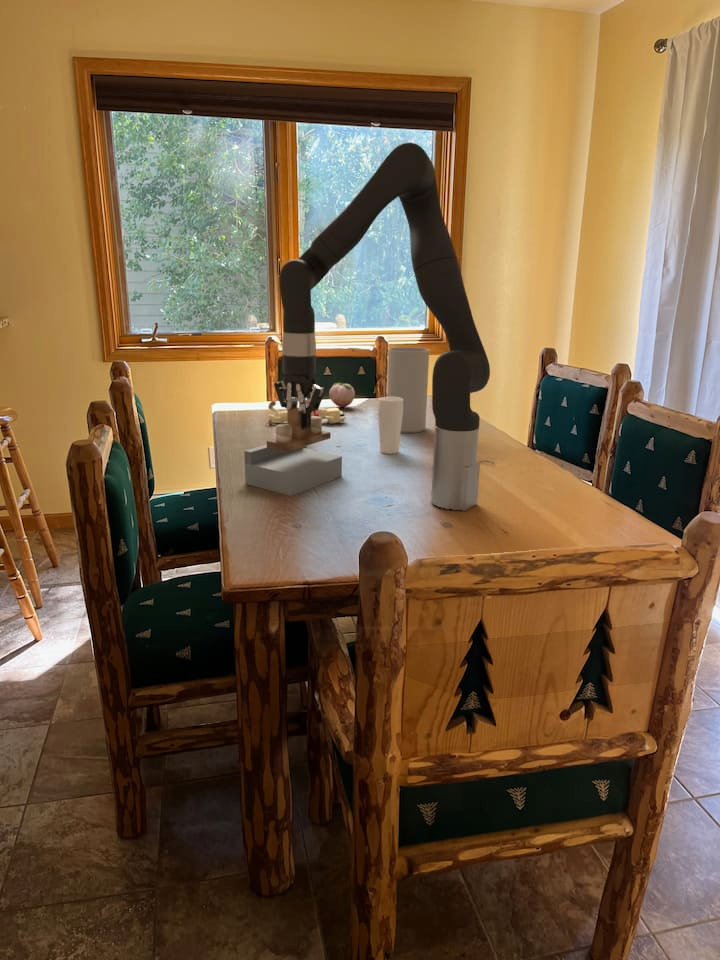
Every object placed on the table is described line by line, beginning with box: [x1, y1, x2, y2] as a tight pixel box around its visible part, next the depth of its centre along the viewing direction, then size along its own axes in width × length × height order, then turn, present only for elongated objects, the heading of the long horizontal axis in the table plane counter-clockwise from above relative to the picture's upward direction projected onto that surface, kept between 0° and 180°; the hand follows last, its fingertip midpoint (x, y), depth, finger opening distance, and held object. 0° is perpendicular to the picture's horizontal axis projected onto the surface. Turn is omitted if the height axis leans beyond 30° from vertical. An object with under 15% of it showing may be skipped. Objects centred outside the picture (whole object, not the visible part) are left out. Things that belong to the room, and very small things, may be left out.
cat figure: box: [267, 400, 347, 426], centre depth 222 cm, size 10×9×25 cm
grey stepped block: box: [244, 443, 343, 497], centre depth 163 cm, size 14×19×8 cm
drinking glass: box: [377, 396, 403, 455], centre depth 188 cm, size 7×7×15 cm
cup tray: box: [266, 406, 331, 452], centre depth 159 cm, size 16×6×8 cm, turn 145°
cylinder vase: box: [386, 346, 430, 434], centre depth 214 cm, size 12×12×25 cm
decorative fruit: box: [328, 380, 356, 408], centre depth 246 cm, size 9×8×10 cm
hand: (299, 427), depth 160 cm, fingers closed on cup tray, 3 cm apart
